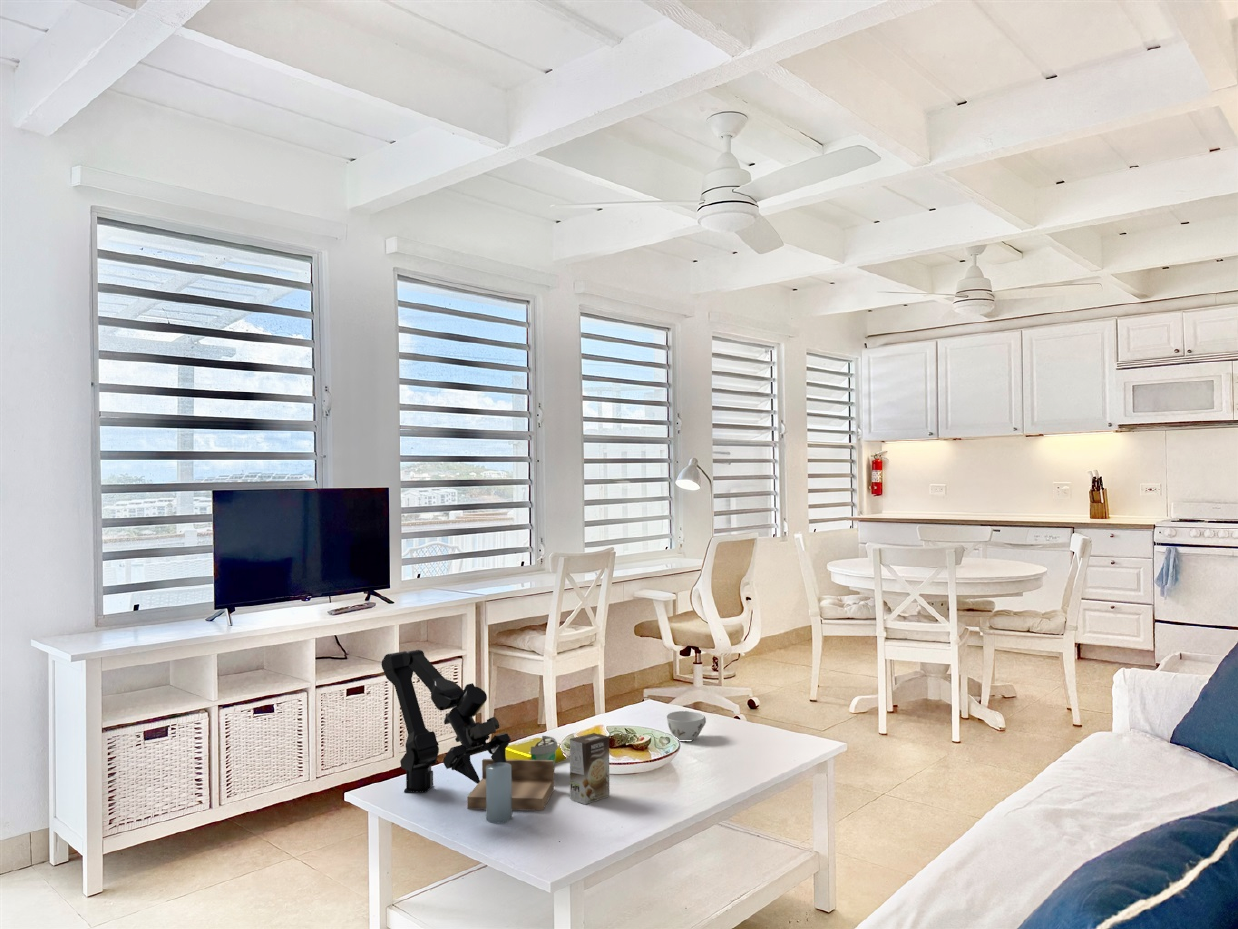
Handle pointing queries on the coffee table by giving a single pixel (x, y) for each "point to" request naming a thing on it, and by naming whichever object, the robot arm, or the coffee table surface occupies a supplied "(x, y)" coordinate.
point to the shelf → (520, 784)
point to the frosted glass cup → (498, 792)
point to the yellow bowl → (528, 750)
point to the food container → (545, 749)
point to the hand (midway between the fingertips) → (492, 778)
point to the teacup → (685, 724)
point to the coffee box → (589, 768)
